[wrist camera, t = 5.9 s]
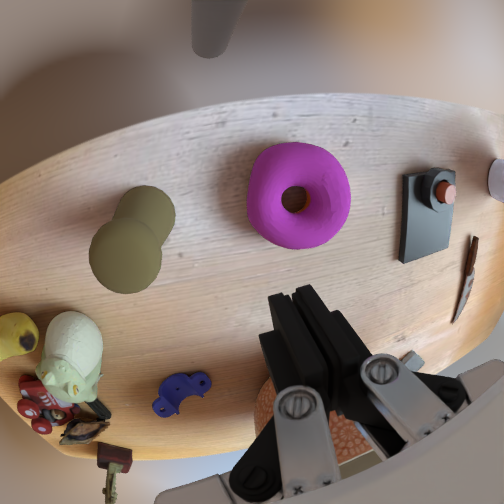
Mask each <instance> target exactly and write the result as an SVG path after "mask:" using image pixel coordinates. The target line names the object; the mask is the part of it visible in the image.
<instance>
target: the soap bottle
mask: <svg viewBox="0 0 504 504" xmlns="http://www.w3.org/2000/svg"><path fill="white" fill-rule="evenodd" d="M488 186H489V192H490V194H491V196H492V197H493V198H495V199H496V200H499V201H501V202H503V203H504V160H503V159H496V160H495V161H494V162H493V163H492V166H491V168H490V172H489V177H488Z"/></svg>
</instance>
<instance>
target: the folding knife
mask: <svg viewBox="0 0 504 504" xmlns="http://www.w3.org/2000/svg"><path fill="white" fill-rule="evenodd" d="M84 402H85V403H86V404H88V405H89V406H90V407H91V408H92V409H93V411H94V412H95V413H96V414H97V415H98V416H99V418H101V419H110V418H111V413H110V411H109V410H108V409H107V408H106V407H105V406H104V405H103V404H102V403H101V402H100V401H99V400H98V399H97V398H96V399H95V400H94V401H92V402H86V401H84Z"/></svg>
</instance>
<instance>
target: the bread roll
mask: <svg viewBox="0 0 504 504" xmlns="http://www.w3.org/2000/svg"><path fill="white" fill-rule="evenodd" d="M103 420H104V421H103ZM109 425H110V423H109V422H105V419H101V418H97V421H95V420H92V419H88V418H77V419H73V420H72V421H70V422H69V423H68V424H67V427H66V430H65V431H64V434H61V437H62V436H64V437H63V438H62V439H61V440H60V442H59V444H60V445H72V444H89V443H90V442H91V441H92V440H93V439H95V438H96V437H98V436H99V434H101V432H103V431H105V429H106V428H108V426H109Z"/></svg>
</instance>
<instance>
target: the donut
mask: <svg viewBox="0 0 504 504" xmlns="http://www.w3.org/2000/svg"><path fill="white" fill-rule="evenodd" d="M291 186H301V187H303V188H304V189H305V191H306V194H307V201H306V203H305V205H304V207H303V208H302V209H301V210H300V211H298V212H296V213H291V212H288V211H287V210H286V209H284V207H283V205H282V203H281V196H282V194H283V192H284V191H285V190H286V189H287V188H289V187H291ZM350 202H351V194H350V186H349V182H348V179H347V176H346V174H345V171H344V169H343V168H342V166H341V165H340V163H339V162H338V161H337V159H336V158H335V157H334V156H333V155H332V154H331V153H329V152H328V151H326V150H325V149H323V148H321V147H318V146H315V145H312V144H306V143H299V142H291V143H281V144H277V145H274V146H271V147H269V148H267V149H266V150H264V151H263V152H262V153H261V154H260V155H259V156H258V158H257V159H256V161H255V163H254V165H253V169H252V172H251V176H250V181H249V187H248V194H247V215H248V219H249V221H250V223H251V225H252V226H253V227H254V228H255V230H256V231H257V232H258V233H259V234H260V235H261V236H263V237H264V238H265V239H267V240H268V241H270V242H271V243H273V244H275V245H278V246H281V247H284V248H288V249H297V250H298V249H307V248H313V247H317V246H319V245H322V244H324V243H326V242H327V241H329V240H330V239H331V238H332V237H333V236H334V235H335V234H336V233H337V232H338V231H339V230H340V229H341V227H342V226H343V224H344V223H345V221H346V219H347V217H348V213H349V209H350Z"/></svg>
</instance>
